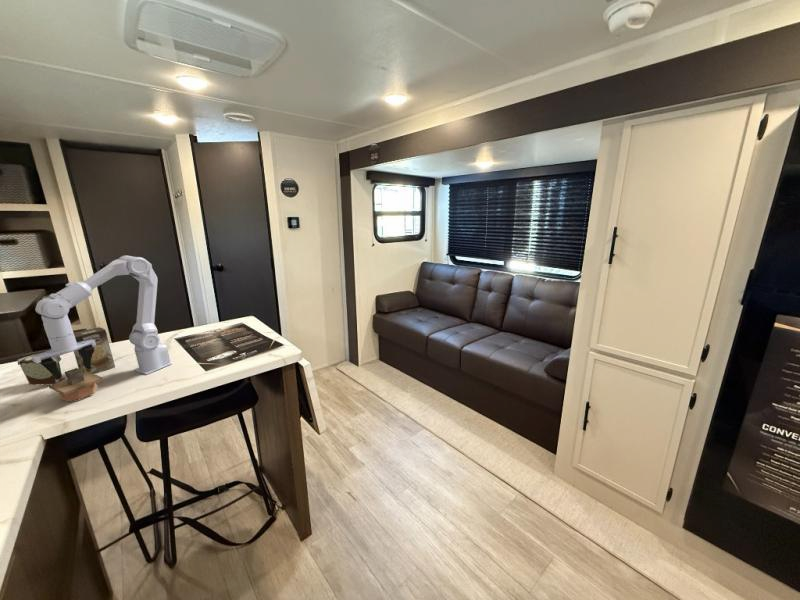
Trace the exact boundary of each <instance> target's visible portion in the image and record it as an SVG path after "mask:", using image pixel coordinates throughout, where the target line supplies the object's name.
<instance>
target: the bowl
mask: <svg viewBox="0 0 800 600" xmlns="http://www.w3.org/2000/svg"><path fill="white" fill-rule="evenodd" d="M97 389H98V386H97V382H96V383H94V384H91V385H89V386H86V387H84V388H81V389H79V390H76V391H74V392H71V393H68V394H66V395H64V394H62V393H59V392H58V393H59V395H60V399H61V400H64V401H67V402H75V400H77V401H79V399H81V400H83V398H84V399H86V398H88V397H90V396H92V395H93V394H94V393H95V392H96V390H97ZM94 391H95V392H94ZM91 394H92V395H91ZM89 395H90V396H89ZM87 396H88V397H87ZM85 397H86V398H85Z"/></svg>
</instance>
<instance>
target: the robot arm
mask: <svg viewBox="0 0 800 600" xmlns="http://www.w3.org/2000/svg"><path fill="white" fill-rule="evenodd" d="M125 275H126V276H127V275H129V276H132V277H133V278H134V279H136V280H137V281H138V282H139V284H138V297H137V298H138V300H137V308H136V309H137V312H136V313H137V314H136V322H135V324H134V325H133V326H132V331H131V333H130V334H129V336H128V340H129V342H130V344H132V345H134V348H133V349H134V353H135V358H136V361H137V365H138V367H137V368H134V371H135V372H137V373H141V374H142V375H149V374H151V373H155V372H156V371H159V370H161V369H163V368H166V367H168V366H170V365H172V361H171V357H170V353H169V350H168V348H167V345H166V344H165V343H163V342H161V341H160V340H161V339H160V336H159V334H158V333H159V332H158V329H157V326H156V325H155V319H156V318H155V317H156V305H157V294H158V293H157V292H158V282H159V281H158V276H157V274H156V273H155V271H154V269H153V265H152V263H150V262H149V261H148V260H147V259H145V258H144V257H141V256H132V255H128V254H127V255H122V256H120V257H119V258H118V259H114V260H112V261H111V262H110V263H108V264H107V265H106V266H104V267H103V268H101V269H100V270H98V271H97V272H95V273H94V274H92V275H91V276H90V277H88V278H87V279H85V280H83V281H74V282H72V283H71V282H68V283H65V287H64V288H62V289H61V290H59V291H57V292H56V293H51V294H49V296H48V297H47V298H42V299H41V300H39V301H38V302H37V303H36V306H35V308H34V310H35V312H36V313H37V315H41V320H42V322H43V324H42V325H43V327H44V331H45V333H46V336H47V338H48V343H49V345H50V347H51V349H49V350H46V351H44V352H41V353H37V354H38V355H35V354H34V355H35V356H32V359H33V361H34V362H35V363H40V364H41V365H43V366H44V367H45V368H46V369H48V370H49V371H50V373H51V374H52V375H53V376H54V378H55V379H57V380H59V379H61V378H60V375H59V372H58V369H57V364H56V361H54V360H53V359H52V358H53V357H57V356H60V357H61V356H63V355H67V354H69V353H74V351H76V350H79V352H80V354H81V357H82V359H83V363H84V366H85V368H87V369H90V368H91V358H92V355H93V352H94V350H95V349H94V347H92V346H95V345H96V343H95V340H93V339H90V340H86V341H82V342H76V339H75V336H74V333H75V332H74V330H73V326H72V324H71V320H70V319H69V316H68V314H69V312H70V309H72V308H73V307H75V306H77V305H78V304H79V303H81V302H82V301H84V300H86V299H88V298H89V297H90V296H92V292H93V290H94V289H96V288H98V287H99V286H100V285H103V284H104V283H106V282H107V281H108V282H109V280H111V279H113V278H115V277H116V276H125Z"/></svg>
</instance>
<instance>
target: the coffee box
mask: <svg viewBox="0 0 800 600" xmlns="http://www.w3.org/2000/svg"><path fill="white" fill-rule="evenodd" d="M73 333H74V336H75V339H76V342H82V341H86V340H90V339H93V340H95V343H96V345H95V346H92V347H94V349H95V350H94V352H93V355H92V358H91V368H90V369H87V368H85V366H84V363H83V359H82V357H81V354H80V352H79V350H76V351H73V354H74V357H75V358H74V359H75V361H76V365H77V368H78V369H81V371H82V373H85V372H89V373H92V374H95V375H96V374H98V373H101V372H105V371H107V370H110V369H114V368H116V364H115V361H114V357H113V353H112V349H111V345H110V342H109V339H108V338H109V337H108V335H107V329H105V328H103V327H100V326H98V327H94V328H93V327H92V328H88V329H84V330H80V331H76V332H75V331H74V332H73ZM113 367H114V368H113Z"/></svg>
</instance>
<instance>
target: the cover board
mask: <svg viewBox="0 0 800 600" xmlns="http://www.w3.org/2000/svg"><path fill="white" fill-rule="evenodd" d="M64 374H65V378H66V379H64V380H62V381H60V382H58V383H55V384H52V385H48V389H51V390H53V391H55V392H58V393H62V394H64V395H66V394H68V393H71V392H74V391H76V390H79V389H81V388H84V387H86V386H89V385H91V384H94V383H96V384H97V383H98V382H102V381H104V377H103V376H100V375H97V374H96V373H95V374H92V373H89V372H85V373H82V371H81V369H79V368H78V367H75V368H72V369H70V370H67V371H64Z"/></svg>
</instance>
